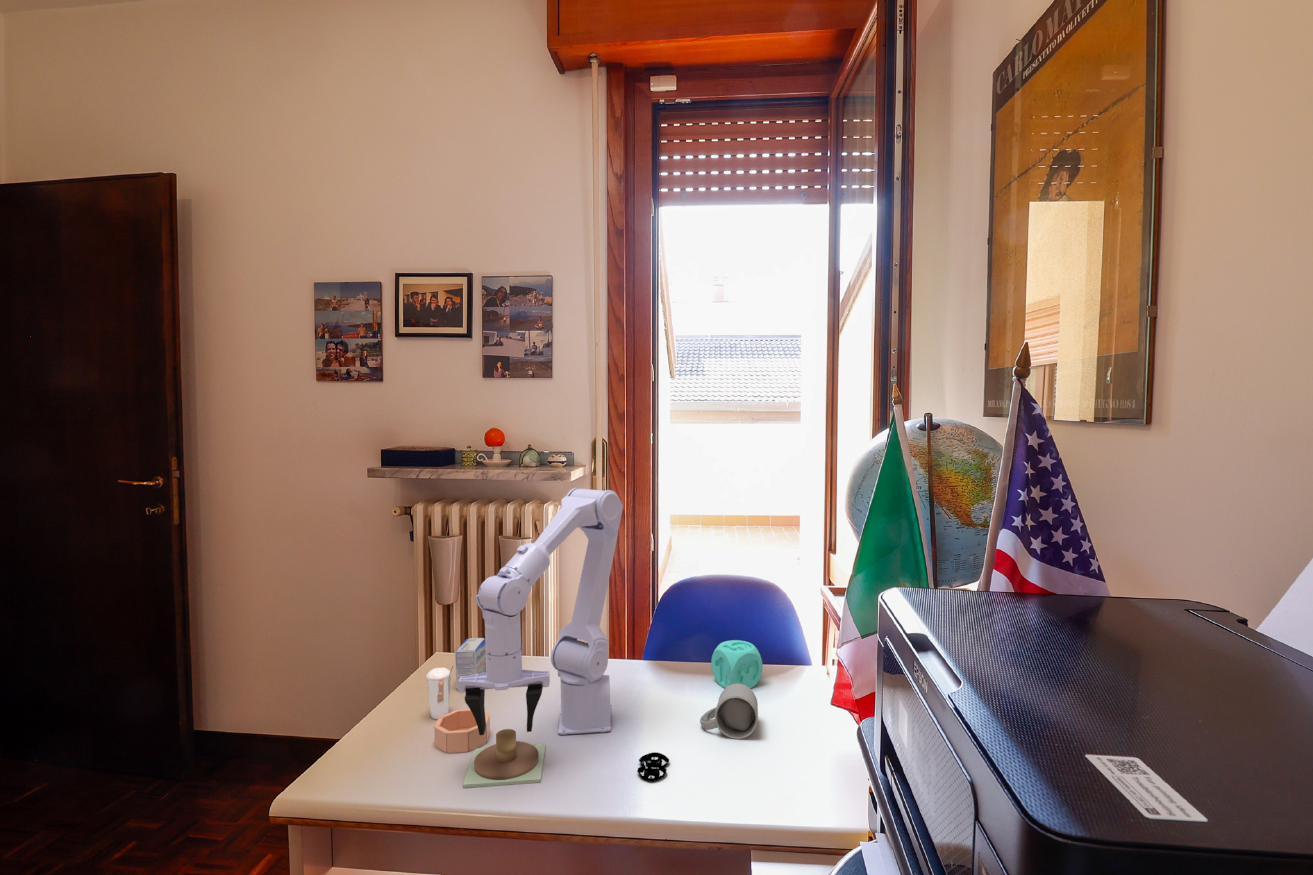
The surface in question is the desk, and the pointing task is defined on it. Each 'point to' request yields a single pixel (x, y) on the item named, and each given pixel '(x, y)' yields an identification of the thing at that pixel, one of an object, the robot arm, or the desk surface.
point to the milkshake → (439, 691)
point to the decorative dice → (736, 664)
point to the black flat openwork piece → (653, 766)
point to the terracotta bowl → (460, 732)
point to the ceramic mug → (733, 712)
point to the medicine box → (470, 658)
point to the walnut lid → (506, 758)
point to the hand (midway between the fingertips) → (506, 730)
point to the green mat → (530, 777)
